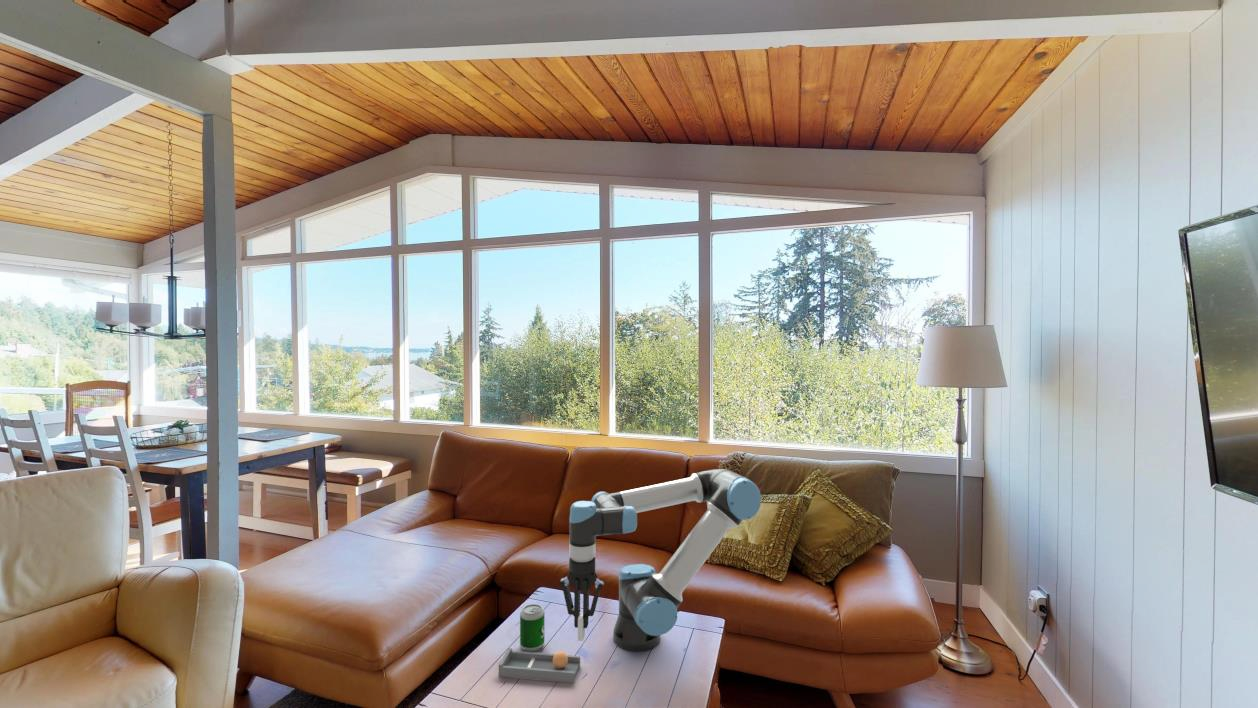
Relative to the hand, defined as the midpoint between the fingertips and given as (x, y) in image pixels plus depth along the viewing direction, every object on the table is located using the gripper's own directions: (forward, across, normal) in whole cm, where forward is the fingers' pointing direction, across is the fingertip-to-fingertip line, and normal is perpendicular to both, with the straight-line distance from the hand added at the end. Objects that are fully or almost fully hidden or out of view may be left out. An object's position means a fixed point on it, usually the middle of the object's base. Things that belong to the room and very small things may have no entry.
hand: (581, 638), depth 155 cm
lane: (+11, +12, 0) cm, 16 cm away
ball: (+7, +6, 0) cm, 9 cm away
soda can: (+11, +18, -12) cm, 24 cm away
